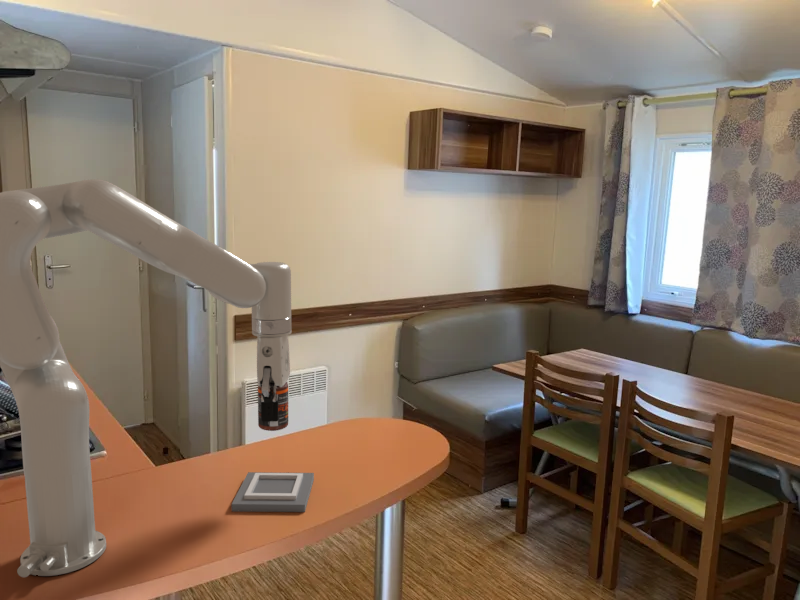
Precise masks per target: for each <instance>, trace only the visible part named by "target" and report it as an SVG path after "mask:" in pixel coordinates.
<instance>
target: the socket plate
mask: <svg viewBox="0 0 800 600" xmlns="http://www.w3.org/2000/svg"><path fill="white" fill-rule="evenodd" d="M314 480H315V473H314V472H272V471H271V472H265V471H264V472H263V471H262V472H261V471H258V472H257V471H255V472H249V471H248V472H247V474H246V476H245V478H244V479H243V481H242V483H241V485H240V487H239V489H238V491H237V492H236V495H235V497H234V498H233V500H232V503H231V512H242V513H243V512H251V513H253V512H257V513H258V512H259V513H260V512H262V513H264V512H267V513H268V512H270V513H275V512H276V513H277V512H278V513H280V512H281V513H305V512H306V510H307V505H308V503H309V502H308V501H309V499H310V495H311V491H312V487H313V484H314Z"/></svg>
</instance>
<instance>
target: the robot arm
mask: <svg viewBox="0 0 800 600" xmlns="http://www.w3.org/2000/svg"><path fill="white" fill-rule="evenodd" d="M87 231H88V232H90V233H92V234H94V235H96V236H98V237H99V238H101V239H103V240H104V241H105V240H106V242H109V243H111V244H113V246H116V247H118V248H119V249H121V250H123V251H125V252H127V253H128V254H131V255H132V256H134V257H136V258H137V259H140V260H141V261H143V262H144V263H146V264H149V265H150V266H152V267H154V268H156V269H158V270H161V271H163V272H165V273H168V274H171V275H174V276H177V277H180V278H181V279H184V280H186V281H188V282H191V283H193V284H195V285H197V286H199V287H201V288H202V289H205V290H207V291H208V292H209V294H210V295H211V296H212V297H214V299H216V300H218V301H220V302H223V303H226V304H229V305H231V306H233V307H235V308H240V309H249V308H251V334H252V335H253V336H255V337H257V338H256V339H257V341H256V342H257V343H256V378H257V379H256V380H257V386H258V385H259V386H260V387H262V395H261V420H262V421H278V419H279V418H278V401H277V386H279V387H283V386H284V384H285V383H286V382H287V381H288V379H289V377H290V375H291V362H290V360H291V359H290V343H289V335H291V334H292V332H293V331H292V270H291V267H290V266H289V264H287V263H285V262H280V261H263V262H262V261H261V262H257V263H248V262H246V261H244V260H243V259H241V258H239V257H238V256H236V255H234V254H233V253H231V252H230V251H228V250H226V249H225V248H222V247H221V246H218V245H217V244H215V243H214V242H211V240H210V241H209V239H206V238H204V237H203V236H201V235H200V234H198V233H196V232H195V231H193V230H192V229H189V228H188V227H186V226H184V225H183V224H181V223H179V222H178V221H175V220H174V219H172V218H170V217H168V216H167V215H165V214H163V213H162V212H161V211H159V210H157V209H156V208H154V207H152V206H150V205H149V204H147V203H146V202H144V201H142V200H141V199H139V198H138V197H136V196H135V195H133V194H131V193H130V192H128V191H126V190H124V189H123V188H121V187H120V186H117V185H116V184H113V183H112V182H110V181H107V180H105V179H99V178H92V179H84V180H78V181H71V182H68V183H62V184H55V185H47V186H40V187H31V188H22V189H16V190H15V189H14V190H5V191H1V192H0V369H1V371H2V373H3V375H4V377H5V379H6V381H7V384H8V385H9V388H10V390H11V392H12V394H13V397H14V399H15V403H16V407H17V410H18V414H19V415H18V416H19V423H20V437H21V441H20V442H21V454H22V468H23V474H24V475H23V476H24V482H25V483H24V484H25V487H24V488H25V497H26V507H27V508H26V509H27V520H28V530H29V543H30V544H29V545H28V547H26V548H25V550H24V551H23V552H22V553H21V556H20V558H19V559H20V560H19V561H20V566H19V567H18V568H17V570H16V571H17V575H18V576H19V577H21V578H27V577H29V576H30V575H32V576H36V575H38V576H39V577H52V576H58V575H59V576H60V575H64V574H69V573H72V572H74V571H77V570H80V569H82V568H85V567H86V566H88V565H90V564H92V563H93V562H95V561H97V560H98V559H99V558H100V557H101V556H102V555H103V554H104V552H105V550H106V549H107V540H106V539H107V537H106V536H105V535H104V534H103V533H102V532H100V531H98V530H96V521H95V508H94V506H95V505H94V493H93V490H94V489H93V479H92V466H91V465H92V464H91V463H92V461H91V454H90V453H91V452H90V451H91V450H90V399H89V397H88V393H87V391H86V388H85V387H84V384H83V383H82V381H81V380H80V379H79V378H78V377H77V375H76V374H75V373H74V370H73V369H72V366H71V364H70V363H69V361H68V358H67V355H66V353H65V350H64V348H63V346H62V343H61V341H60V332H59V328H58V326H57V324H56V322H55V320H54V318H53V317H52V315H51V314H50V312H49V310H48V308H47V305H46V303H45V300H44V299H43V296H42V295H43V294H41V291H40V289H39V285H38V283H37V279H36V276H35V274H34V272H33V269H32V262H31V257H32V254H33V251H34V249H35V247H36V246H37V245H38V244H39V243H40V242H42V241H43V240H45V239H50V238H56V237H61V236H63V237H64V236H68V235H73V234H77V233H82V232H87ZM270 383H274V385H270ZM270 389H273V392H272V391H270ZM38 576H37V577H38Z"/></svg>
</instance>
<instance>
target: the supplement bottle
mask: <svg viewBox="0 0 800 600" xmlns="http://www.w3.org/2000/svg"><path fill="white" fill-rule="evenodd" d="M270 385H274V383H270ZM270 391H272V392H273V389H270ZM261 395H262V387H260V386H259V385H258V384H257V416H258V417H257V420H258V421H257V422H258V423H257V425H258V427H259V429H261V430H263V431H268V432H269V431H271V432H275V431H276V432H277V431H281V430H284V429H286V428H287V426H289V384H288V382H287V381H286V383H285V384H284V386H283V387H279V386H277V401H278V418H279V419H278V421H262V420H261Z"/></svg>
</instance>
